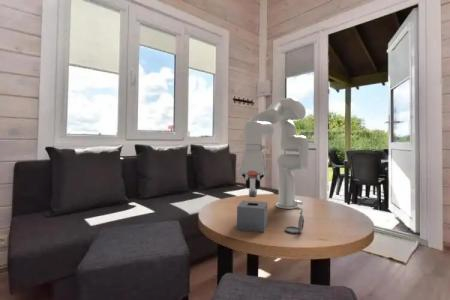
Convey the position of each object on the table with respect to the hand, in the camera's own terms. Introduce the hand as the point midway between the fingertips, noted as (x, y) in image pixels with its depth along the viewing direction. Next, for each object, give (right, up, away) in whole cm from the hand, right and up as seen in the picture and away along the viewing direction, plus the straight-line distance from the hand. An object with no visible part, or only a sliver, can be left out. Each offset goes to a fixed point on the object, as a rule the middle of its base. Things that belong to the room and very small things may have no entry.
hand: (252, 188), depth 114 cm
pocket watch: (+18, -18, -5) cm, 26 cm away
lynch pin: (0, -4, 0) cm, 4 cm away
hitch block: (0, -18, +1) cm, 18 cm away
